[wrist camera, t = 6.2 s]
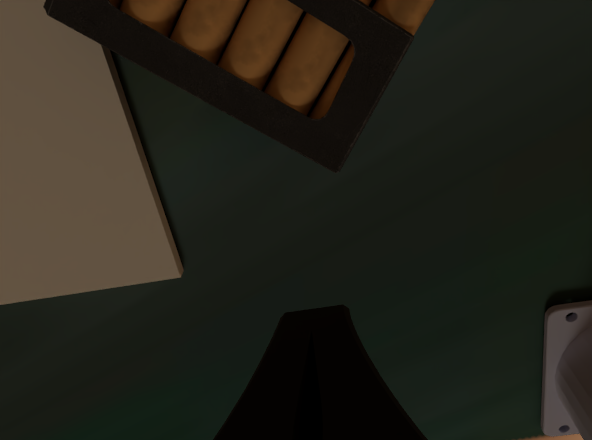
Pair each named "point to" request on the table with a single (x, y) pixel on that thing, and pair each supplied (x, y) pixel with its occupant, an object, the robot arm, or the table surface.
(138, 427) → the table surface
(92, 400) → the table surface
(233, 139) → the table surface
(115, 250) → the mat
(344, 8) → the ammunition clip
